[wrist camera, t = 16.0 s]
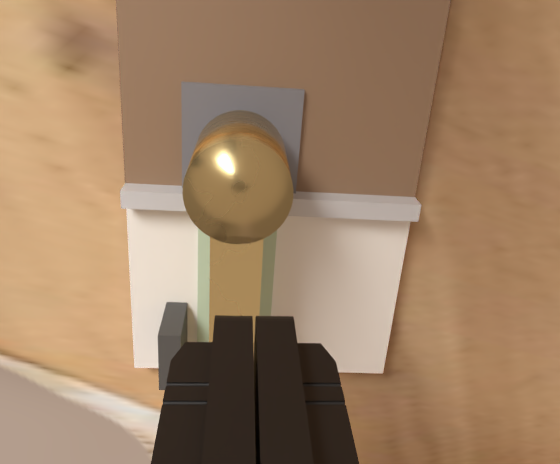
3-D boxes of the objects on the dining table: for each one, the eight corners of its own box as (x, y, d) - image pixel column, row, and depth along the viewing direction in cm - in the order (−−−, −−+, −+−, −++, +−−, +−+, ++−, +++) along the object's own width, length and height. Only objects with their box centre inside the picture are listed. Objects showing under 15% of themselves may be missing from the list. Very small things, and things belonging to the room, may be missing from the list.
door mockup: (111, -225, 19) (79, -274, 15) (475, -186, 20) (524, -225, 16) (138, 355, 28) (122, 406, 25) (378, 361, 29) (395, 411, 26)
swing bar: (195, 107, 21) (181, 137, 16) (288, 112, 21) (297, 143, 17) (195, 407, 27) (185, 486, 23) (267, 408, 27) (271, 487, 23)
